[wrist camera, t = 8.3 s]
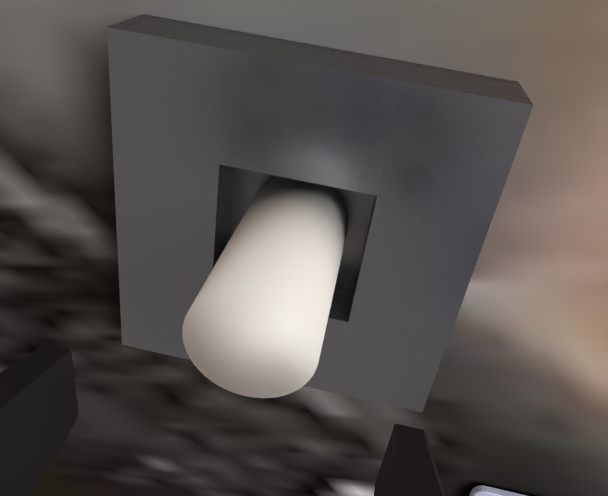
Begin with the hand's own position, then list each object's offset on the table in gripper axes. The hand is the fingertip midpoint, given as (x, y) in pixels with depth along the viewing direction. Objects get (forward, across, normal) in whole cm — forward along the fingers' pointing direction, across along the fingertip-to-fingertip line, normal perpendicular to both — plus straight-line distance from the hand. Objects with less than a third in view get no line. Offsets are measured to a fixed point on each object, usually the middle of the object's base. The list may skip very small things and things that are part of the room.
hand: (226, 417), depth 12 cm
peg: (+9, 0, 0) cm, 9 cm away
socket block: (+10, 0, 0) cm, 10 cm away
